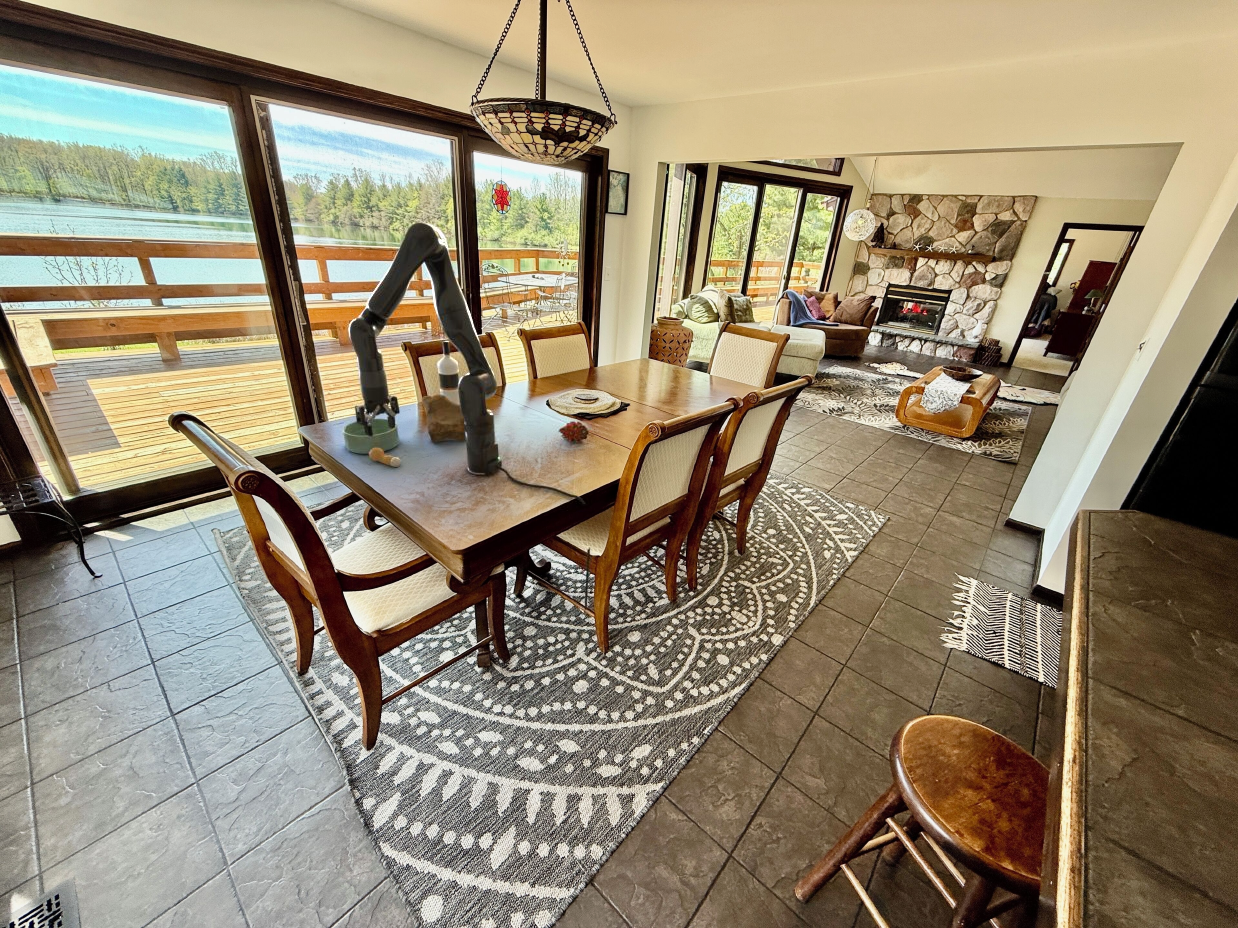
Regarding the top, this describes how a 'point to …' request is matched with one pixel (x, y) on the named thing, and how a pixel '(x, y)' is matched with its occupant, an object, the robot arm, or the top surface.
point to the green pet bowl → (364, 443)
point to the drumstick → (384, 457)
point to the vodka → (448, 375)
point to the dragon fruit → (574, 431)
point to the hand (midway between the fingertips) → (381, 431)
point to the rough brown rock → (443, 419)
